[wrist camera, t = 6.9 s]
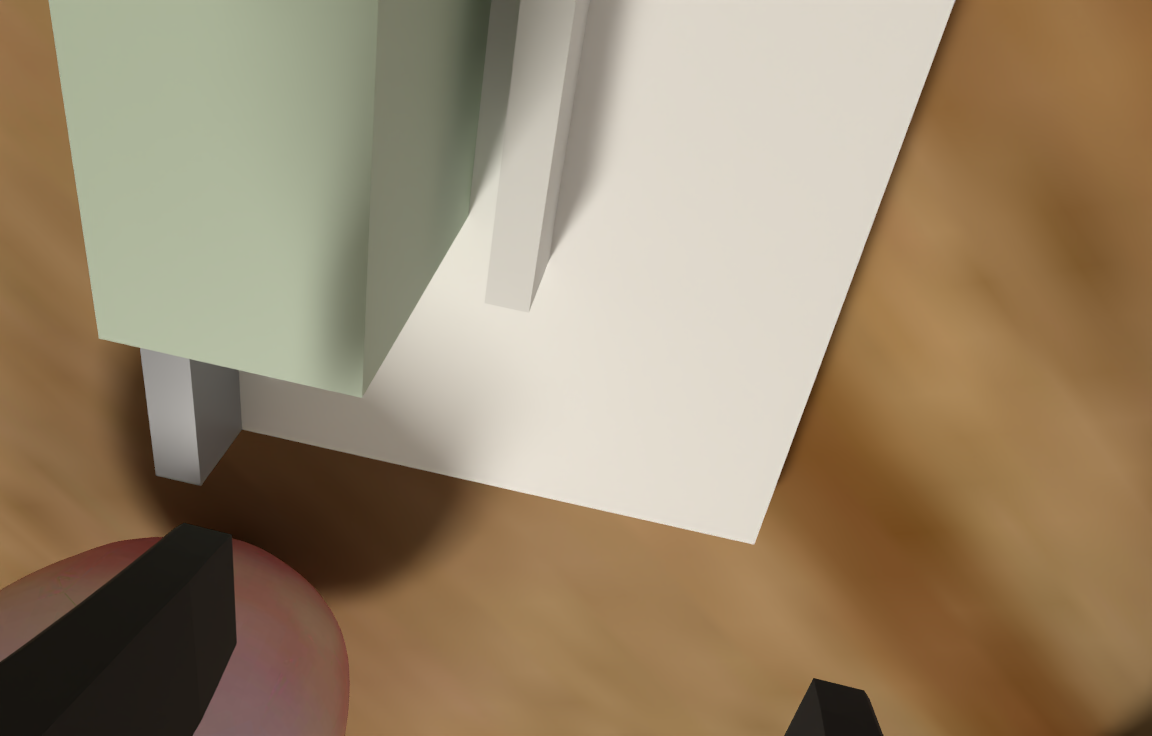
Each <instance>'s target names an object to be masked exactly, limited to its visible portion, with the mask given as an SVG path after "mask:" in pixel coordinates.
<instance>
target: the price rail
mask: <svg viewBox="0 0 1152 736" xmlns="http://www.w3.org/2000/svg"><path fill="white" fill-rule="evenodd" d="M140 352H141V360H142V368H143V376H144V384H145V392H146V400H147V408H148V416H149V424H150V432H151V440H152V448H153V456H154V464H155V471H156V476H160V477H164V478H169V479H173V480H178V481H182V482H186V483H191V484H195V485H200V486H201V485H202V484H203V482H204V481H205V480H206V478H207V477H208V475H209V474H210V473H211V471H212V470H213V469H214V467H215V466H216V465H217V463H218V462H219V460H220V459H221V458H222V456H223V455H224V454H225V452H226V451H227V449H228V448H229V447H230V445H231V444H232V443H233V441H234V440H235V438H236V437H237V436H238V434H239V433H240V432H241V430H242V419H241V401H240V383H239V370H236V369H232V368H227V367H223V366H218V365H214V364H210V363H205V362H201V361H196V360H192V359H188V358H183V357H179V356H174V355H170V354H165V353H161V352H157V351H152V350H148V349H143V348H140Z"/></svg>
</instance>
